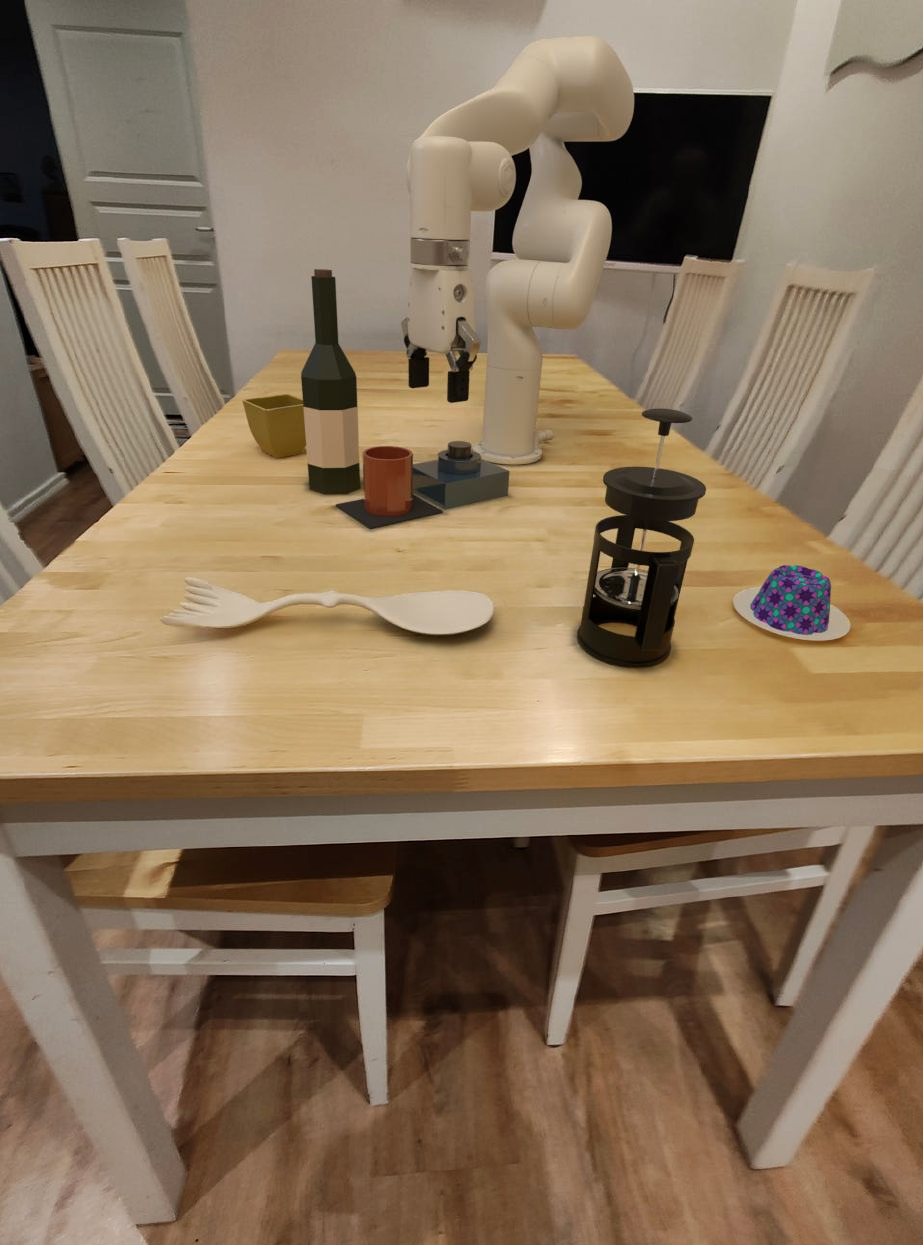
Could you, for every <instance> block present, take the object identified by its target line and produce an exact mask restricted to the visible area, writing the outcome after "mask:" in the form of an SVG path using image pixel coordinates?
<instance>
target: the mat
mask: <svg viewBox="0 0 923 1245" xmlns="http://www.w3.org/2000/svg"><path fill="white" fill-rule="evenodd" d="M335 507H336V508H337V509H338V510H340V511H342V512H343V513H344V514H346V515H348V516H349V517H351V518H352V519H353V520H355V521H356V522H357V523H360V524H361V525H362V526H364V527H365V528H367V529H368V530H374V529H378V528H379V529H380V528H383V527H388V526H392V525H396V524H402V523H406V522H409V521H414V520H419V519H424V518H428V517H432V516H437V515H441V514H443V513H444V511H443V510H442V509H441V508H439V507H438V506H436V505H434V504H432V503H430V502H429V501H427V500H425V499H423V498H421V497H419V496H418V495H417V496H416V494H413V504H412V510H411V511H410V512H408V513H406V514H403V515H399V516H379V515H374V514H371V513H369V512H367V511H366V510H365V504H364V498H361V499H356V500H351V501H345V502H340V503H336V504H335Z"/></svg>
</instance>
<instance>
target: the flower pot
mask: <svg viewBox="0 0 923 1245" xmlns="http://www.w3.org/2000/svg"><path fill="white" fill-rule="evenodd" d="M242 405H243V408H244V413H245V416H246V420H247V424H248V428H249V430H250V432H251V435H252V437H253V439H254V441H255V442H256V444H257V445H258V447H259V448H260V449H261V451H262V452H264V453H266V454H267V455H269V456H272V458H276V459H280V458H285V457H289V456H294V455H299V454H302V453H303V452H304V450H305V448H306V435H305V422H304V409H303V398H301V397H297V396H296V395H292V394H290V393H281V394H275V395H269V396H268V395H267V396H263V397H262V396H261V397H252V398H245V399H242Z"/></svg>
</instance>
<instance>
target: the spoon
mask: <svg viewBox="0 0 923 1245" xmlns="http://www.w3.org/2000/svg"><path fill="white" fill-rule="evenodd" d="M184 582H185V583H186V584H187V585H188V586H186V587H184V588H183V589H184V590H185V591H186V592H187V593H183V594H182V595H181V596H182V597H183V598H184V599H186V600H188V601H190V602H186V601H184V602H179V606H180V607H181V608H183V609H181V608H174V609H173V610H172V612H170V613H167V615H164V616H160V617H159V621H160V623H162V624H163V625H165V626H168V627H173V628H211V629H213V628H214V629H230V628H238V627H242V626H246V625H249V624H251V623H254V622H257V621H259V620H260V619H263V618H265V617H266V616H267V617H268V616H269V615H271V614H273V613H275V612H277V611H280V610H282V609H285V608H288V607H292V606H300V605H313V606H314V605H317V606H322V607H325V608H326V609H327V608H328V609H332V608H335V607H337V606H340V605H341V606H342V605H349V606H355V607H359V608H362V609H366V610H367V611H370V612H372V613H373V614H376V615H377V616H378V617H381V618H382V619H383V620H385V621H387V622H389V623H390V624H392V625H394V626H396V627H397V628H401V629H404V630H405V631H408V632H411V633H415V634H422V635H430V636H450V635H457V634H463V633H466V632H469V631H473V630H476V629H478V628H481V627H483V626H484V625H486V624H488V623H490V621H491V620H492V619H493V617H494V615H495V613H496V606H495V602H494V600H493V599H492V598H491V597H490V596H488V595H487V594H485V593H483V592H478V591H473V590H472V591H471V590H458V589H451V590H450V589H449V590H433V591H431V590H430V591H419V592H418V591H415V592H408V593H401V594H395V595H387V596H386V595H385V596H378V597H377V596H376V597H372V596H365V595H364V596H363V595H358V594H351V593H350V594H349V593H341V592H338V591H337V590H335V589H333V590H332V589H331V590H327V591H323V592H303V593H292V594H288V595H285V596H281V597H279V598H276V599H273V600H270V601H265V602H261V601H258V600H255V599H253V598H251V597H249V596H247V595H245V594H243V593H240V592H237V591H233V590H229V589H226V588H223V587H221V586H218V585H216V584H213V583H211V582H209V581H206V580H203V579H201V578H198V577H193V576H189V577H186V578H185V579H184Z"/></svg>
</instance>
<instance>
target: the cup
mask: <svg viewBox="0 0 923 1245" xmlns="http://www.w3.org/2000/svg"><path fill="white" fill-rule="evenodd" d="M413 464H414V453H413V451H412V450H410V449H408V448H406V447H402V446H395V445H378V446H372V447H368V448H365V449H364V450H363V451H362V472H363V473H362V474H363V475H362V476H363V478H362V479H363V480H362V481H363V499H364V504H365V510H366V511H367V512H369V513H371V514H374V515H379V516H399V515H403V514H406V513H408V512H410V511H411V510H412V504H413V495H414V493H413Z"/></svg>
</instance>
